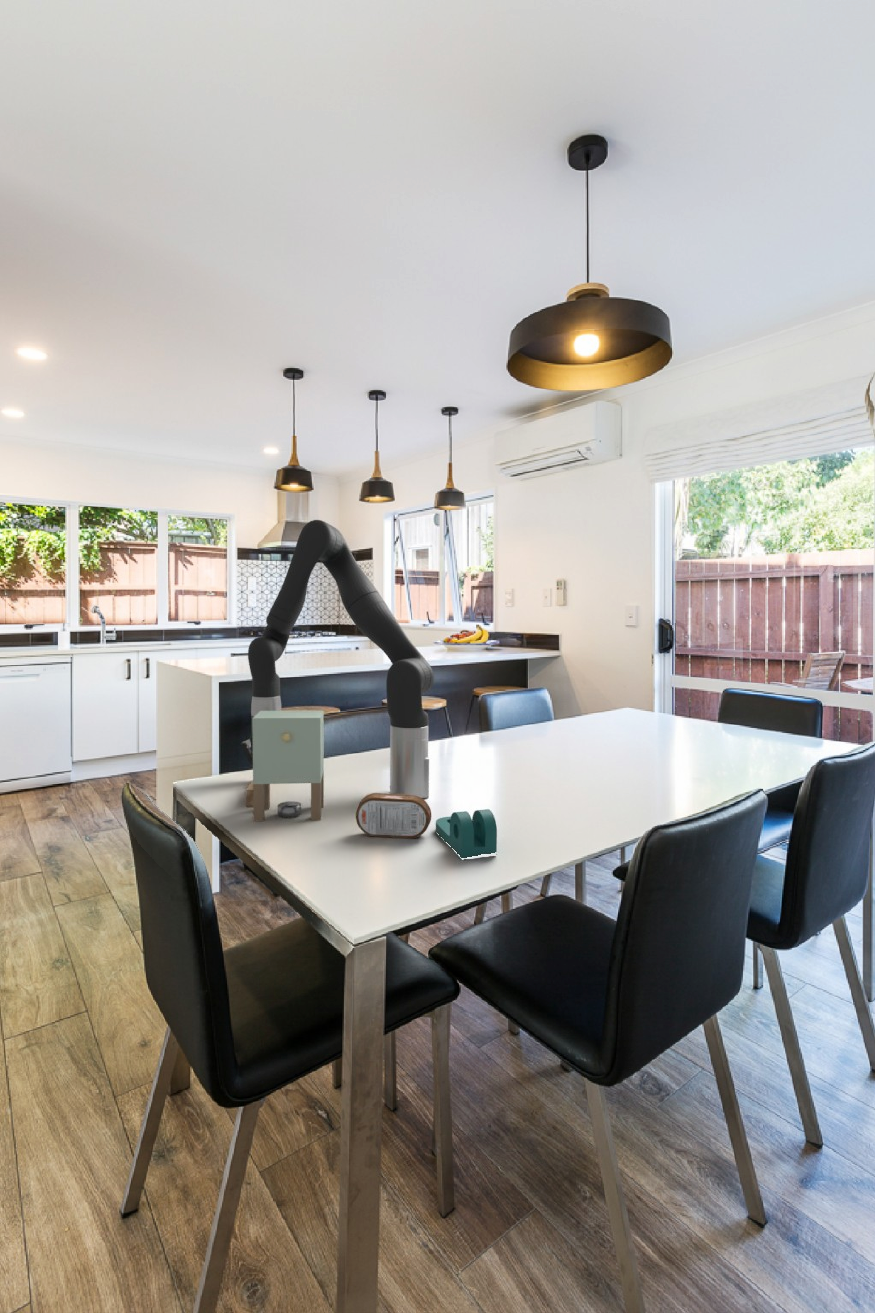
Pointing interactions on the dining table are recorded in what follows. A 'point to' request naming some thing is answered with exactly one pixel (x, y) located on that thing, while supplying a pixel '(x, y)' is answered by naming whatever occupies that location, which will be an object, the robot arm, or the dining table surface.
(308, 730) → the cabinet
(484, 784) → the dining table surface
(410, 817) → the tin
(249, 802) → the oak slat
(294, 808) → the steel token
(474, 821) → the bracket
